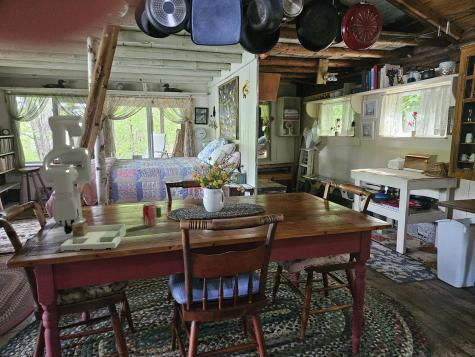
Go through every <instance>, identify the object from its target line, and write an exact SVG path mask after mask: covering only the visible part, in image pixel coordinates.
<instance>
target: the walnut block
mask: <svg viewBox="0 0 475 357" xmlns="http://www.w3.org/2000/svg"><path fill="white" fill-rule="evenodd" d="M88 226H89V225H88V223H87V222H83V223H76V224H75V225H72V236H73V237H81V236H85V235H86V234H87V233H88Z"/></svg>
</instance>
